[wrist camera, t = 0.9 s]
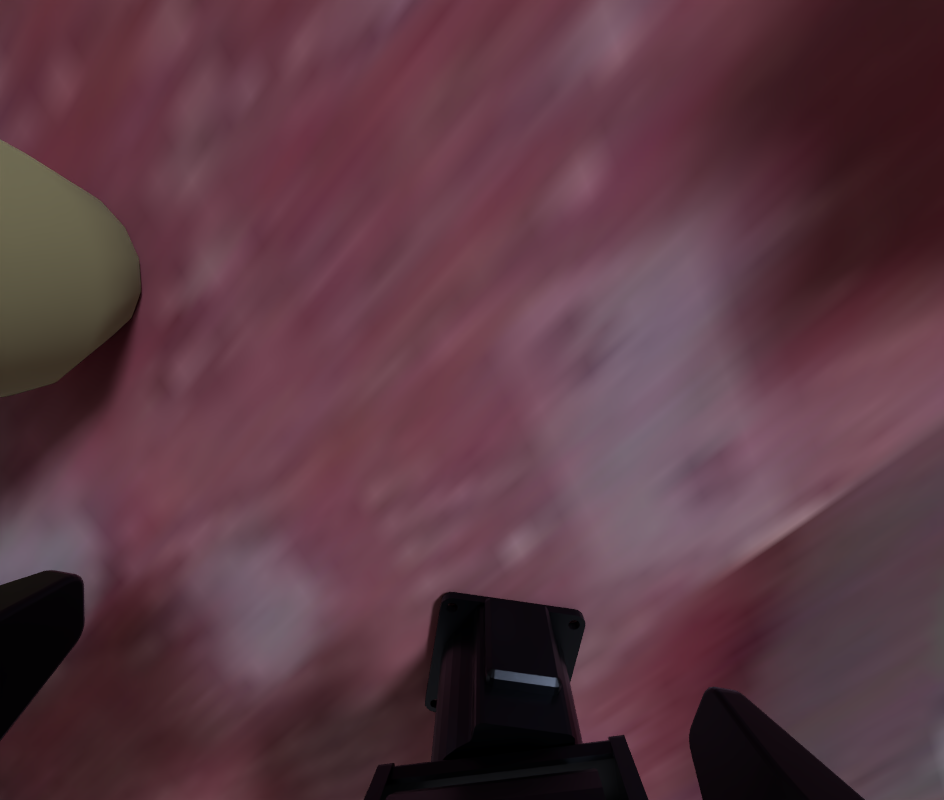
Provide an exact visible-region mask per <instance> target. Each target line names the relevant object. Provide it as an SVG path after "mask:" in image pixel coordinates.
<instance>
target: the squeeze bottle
mask: <svg viewBox="0 0 944 800" xmlns="http://www.w3.org/2000/svg"><path fill="white" fill-rule="evenodd" d="M140 293H141V281H140V266H139V258H138V256H137V254H136V251H135V249H134V247H133V245H132V242H131V240H130V238H129V236H128V233H127V231H126V229H125V227H124V226H123V225H122V224H121V223H120V222H119V220H118V219H117V218H116V217H115V216H114V215H113V214H112V213H111V212H110V211H109V210H108V208H107V207H106V206H105V205H104V204H103V203H102V202H101V201H100V200H99V199H97V198H96V197H94V196H92V195H91V194H89V193H88V192H86V191H84V190H83V189H81V188H80V187H78V186H76V185H75V184H73V183H72V182H70V181H68V180H67V179H65V178H64V177H62V176H61V175H59V174H57V173H56V172H54V171H53V170H51V169H49V168H48V167H46V166H45V165H43V164H41V163H40V162H38V161H37V160H35V159H34V158H32V157H30V156H29V155H27V154H25V153H24V152H22V151H20V150H18V149H16V148H14V147H13V146H11V145H9V144H7V143H5V142H4V141H2V140H0V397H5V396H10V395H15V394H18V393H22V392H25V391H28V390H32V389H35V388H39V387H42V386H46V385H49V384H53V383H56V382H57V381H58V380H59V379H60V378H62V377H63V376H64V375H65V374H67V373H68V372H69V371H70V370H71V369H73V368H74V367H75V366H76V365H78V364H79V363H80V362H81V361H82V360H84V359H85V358H86V357H87V356H88V355H90V354H91V353H92V352H93V351H95V350H96V349H97V348H98V347H99V346H101V345H102V344H103V343H104V342H105V341H107V340H108V339H109V338H110V337H112V336H113V335H114V334H115V333H116V332H117V331H118V330H119V329H120V328H121V327H122V326H123V325H124V324H125V323H126V322H128V321H129V320H130V319H131V318H132V315H133V312H134V310H135V307H136V304H137V301H138V298H139V296H140Z"/></svg>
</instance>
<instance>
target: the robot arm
mask: <svg viewBox="0 0 944 800" xmlns="http://www.w3.org/2000/svg"><path fill="white" fill-rule="evenodd" d="M449 603H455V604H456V605H455V606H450V605H448V604H449ZM572 620H576V621H577V622H575V623H569V622H570V621H572ZM84 622H85V617H84V583H83V580H82V578H81V577H80V576H78V575H76V574H72V573H66V572H60V571H53V570H49V571H43V572H40V573H37V574H34V575H31V576H28V577H24V578H21V579H18V580H15V581H12V582H9V583H6V584H3V585H0V741H1V739H2V738H3V737H4V736H5V734H6V733H7V732H8V730H9V729H10V728H11V727H12V725H13V724H14V723H15V721H16V720H17V719H18V718H19V716H20V715H21V714H22V712H23V711H24V710H25V709H26V707H27V706H28V705H29V703H30V702H31V701H32V700H33V698H34V697H35V696H36V694H37V693H38V692H39V691H40V689H41V688H42V687H43V685H44V684H45V683H46V682H47V680H48V679H49V678H50V676H51V675H52V674H53V673H54V671H55V670H56V669H57V667H58V666H59V665H60V664H61V662H62V661H63V660H64V658H65V657H66V656H67V655H68V653H69V652H70V651H71V649H72V648H73V647H74V646H75V644H76V643H77V641H78V640H79V638H80V636H81V634H82V631H83V628H84ZM584 629H585V620H584V617H583V615H582V613H581V612H580V611H578V610H575V609H569V608H562V607H554V606H547V605H541V604H534V603H527V602H520V601H513V600H506V599H499V598H491V597H484V596H477V595H470V594H463V593H456V592H449V593H447V594H445V595H444V596H443V597H442V600H441V606H440V612H439V618H438V624H437V630H436V636H435V643H434V649H433V655H432V661H431V667H430V673H429V679H428V686H427V692H426V699H425V706H426V707H427V709H429V710H430V711H433V712H436V716H435V726H434V736H433V746H432V756H431V762H425V763H417V764H409V765H400V766H395V764H394V763H390V764H382V765H378V767H377V769H376V772H375V774H374V777H373V779H372V782H371V785H370V787H369V789H368V791H367V793H366V796H365V798H364V800H648V798H647V795H646V792H645V790H644V787H643V784H642V782H641V779H640V776H639V774H638V771H637V768H636V766H635V763H634V760H633V758H632V755H631V752H630V750H629V747H628V744H627V742H626V739H625V736H624V735H620V736H612V737H608V739H609V740H606V741H598V742H590V743H582V738H581V733H580V728H579V724H578V719H577V714H576V710H575V705H574V700H573V695H572V691H571V686H570V681H571V677H572V674H573V670H574V666H575V662H576V659H577V655H578V651H579V648H580V644H581V640H582V636H583V633H584ZM434 699H437V700H434ZM689 744H690V750H691V754H692V758H693V762H694V766H695V770H696V774H697V778H698V782H699V786H700V790H701V794H702V798H703V800H865V799H864V798H862V797H861V796H860V795H859V794H858V793H857V792H855V791H854V790H853V789H852V788H851V787H850V786H848V785H847V784H846V783H845V782H844V781H843V780H841V779H840V778H839V777H838V776H837V775H836V774H835V773H833V772H832V771H831V770H830V769H829V768H828V767H826V766H825V765H824V764H823V763H822V762H821V761H819V760H818V759H817V758H816V757H815V756H814V755H812V754H811V753H810V752H809V751H808V750H807V749H805V748H804V747H803V746H802V745H801V744H800V743H798V742H797V741H796V740H795V739H794V738H793V737H792V736H790V735H789V734H788V733H787V732H786V731H785V730H783V729H782V728H781V727H780V726H779V725H778V724H776V723H775V722H774V721H773V720H772V719H771V718H769V717H768V716H767V715H766V714H765V713H764V712H762V711H761V710H760V709H759V708H758V707H757V706H755V705H754V704H753V703H752V702H751V701H750V700H749V699H747V698H746V697H745V696H744V695H743V694H741V693H740V692H738V691H735V690H730V689H725V688H719V687H709V688H708V689H707V690H706V691H705V692H704V694H703V697H702V700H701V702H700V705H699V707H698V710H697V712H696V715H695V718H694V720H693V723H692V725H691V728H690V734H689Z"/></svg>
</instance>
